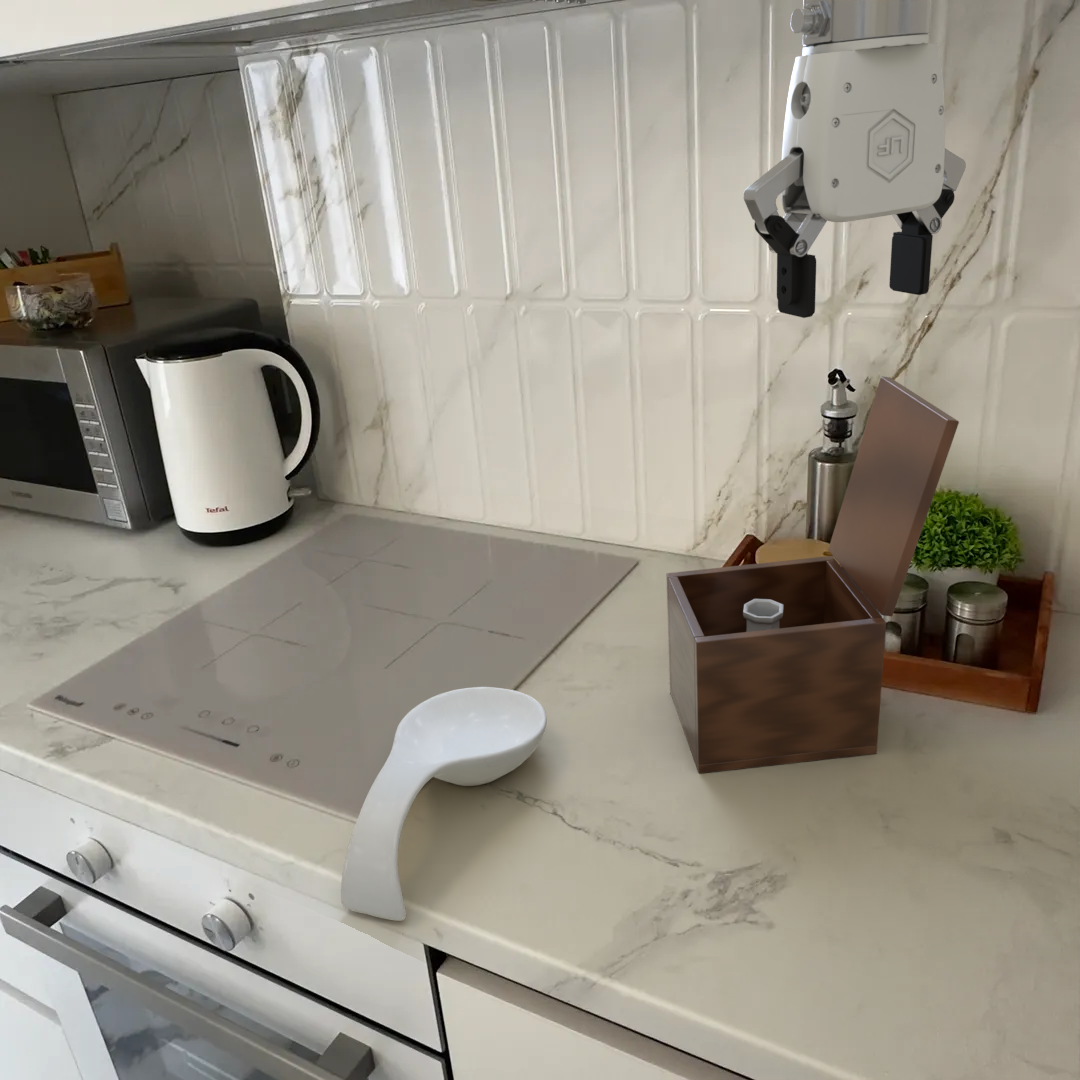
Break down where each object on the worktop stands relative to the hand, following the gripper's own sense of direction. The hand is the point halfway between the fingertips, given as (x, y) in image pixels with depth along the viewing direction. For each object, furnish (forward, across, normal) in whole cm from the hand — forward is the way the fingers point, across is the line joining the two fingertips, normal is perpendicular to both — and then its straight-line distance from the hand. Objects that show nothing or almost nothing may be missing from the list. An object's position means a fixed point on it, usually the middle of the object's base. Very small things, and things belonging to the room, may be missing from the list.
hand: (853, 302), depth 67 cm
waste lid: (+14, +3, -1) cm, 15 cm away
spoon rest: (+34, -32, +5) cm, 47 cm away
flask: (+33, -6, +2) cm, 34 cm away
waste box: (+34, -5, +2) cm, 34 cm away
